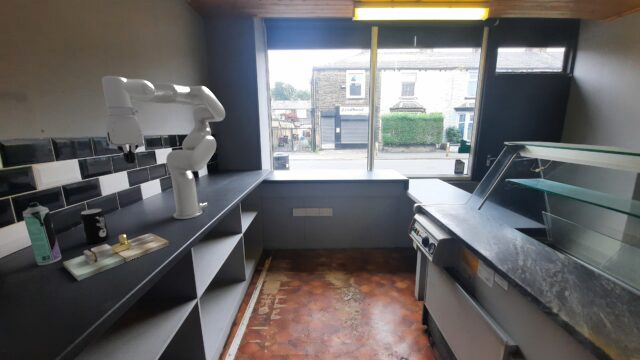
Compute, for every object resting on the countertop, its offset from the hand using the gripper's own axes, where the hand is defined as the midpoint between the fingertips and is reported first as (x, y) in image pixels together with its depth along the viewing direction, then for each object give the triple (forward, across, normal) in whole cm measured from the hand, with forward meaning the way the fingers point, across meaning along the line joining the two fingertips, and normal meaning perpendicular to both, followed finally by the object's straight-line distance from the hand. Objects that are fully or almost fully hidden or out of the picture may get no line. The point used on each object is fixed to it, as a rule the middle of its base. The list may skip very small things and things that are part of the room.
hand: (130, 163), depth 95 cm
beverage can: (+29, +12, -9) cm, 33 cm away
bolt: (+27, +14, +12) cm, 33 cm away
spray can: (+29, +26, -4) cm, 39 cm away
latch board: (+29, +12, +12) cm, 34 cm away
